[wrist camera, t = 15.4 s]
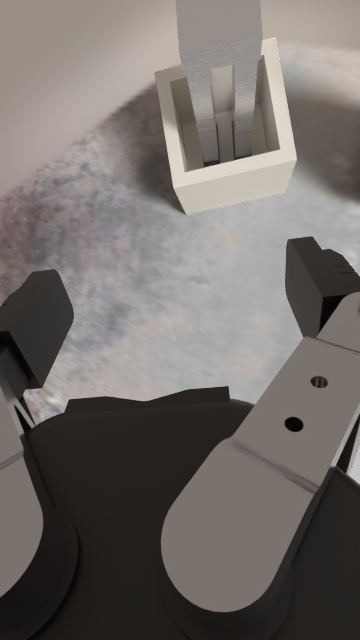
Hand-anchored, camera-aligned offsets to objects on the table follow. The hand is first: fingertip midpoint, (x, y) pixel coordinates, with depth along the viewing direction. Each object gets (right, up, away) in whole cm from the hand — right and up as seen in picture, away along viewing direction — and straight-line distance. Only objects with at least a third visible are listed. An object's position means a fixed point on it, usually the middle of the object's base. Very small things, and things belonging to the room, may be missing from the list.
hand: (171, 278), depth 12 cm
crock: (+5, +14, +19) cm, 24 cm away
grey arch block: (+4, +13, +18) cm, 23 cm away
